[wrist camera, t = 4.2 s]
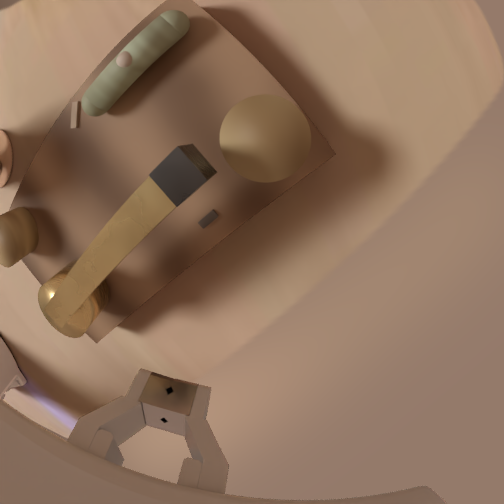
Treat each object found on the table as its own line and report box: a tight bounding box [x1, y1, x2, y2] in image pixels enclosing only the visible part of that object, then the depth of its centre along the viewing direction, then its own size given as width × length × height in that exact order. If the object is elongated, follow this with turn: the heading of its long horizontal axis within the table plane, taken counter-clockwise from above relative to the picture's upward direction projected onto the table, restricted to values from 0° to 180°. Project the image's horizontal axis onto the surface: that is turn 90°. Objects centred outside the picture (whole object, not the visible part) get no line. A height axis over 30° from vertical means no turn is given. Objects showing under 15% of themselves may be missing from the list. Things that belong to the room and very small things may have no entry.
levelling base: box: [0, 0, 336, 343], centre depth 16 cm, size 24×14×6 cm, turn 130°
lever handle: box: [38, 144, 218, 338], centre depth 15 cm, size 16×4×5 cm, turn 130°
